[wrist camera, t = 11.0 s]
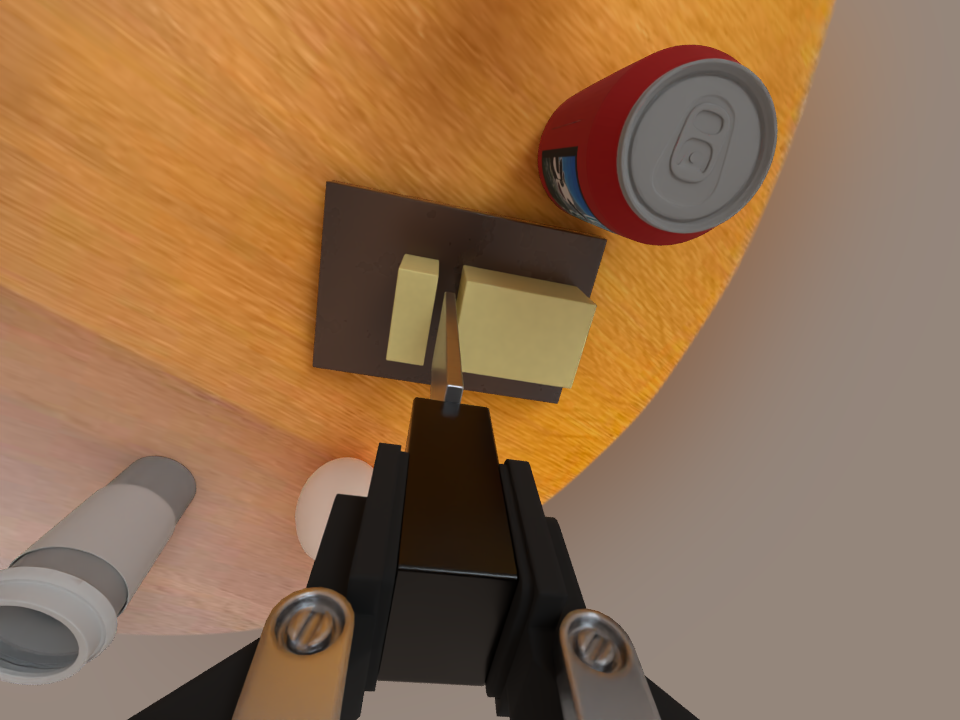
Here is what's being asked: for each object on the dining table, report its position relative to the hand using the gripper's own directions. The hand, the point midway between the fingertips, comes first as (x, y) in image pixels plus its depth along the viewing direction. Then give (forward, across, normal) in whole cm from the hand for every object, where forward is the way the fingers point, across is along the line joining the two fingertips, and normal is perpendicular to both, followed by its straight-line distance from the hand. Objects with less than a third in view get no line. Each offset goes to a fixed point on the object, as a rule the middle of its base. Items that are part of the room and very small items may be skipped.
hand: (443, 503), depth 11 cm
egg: (+19, +4, +14) cm, 24 cm away
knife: (+13, 0, 0) cm, 13 cm away
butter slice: (+18, +2, 0) cm, 18 cm away
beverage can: (+19, -7, -10) cm, 23 cm away
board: (+19, -1, 0) cm, 19 cm away
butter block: (+18, -4, 0) cm, 18 cm away
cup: (+19, +17, +17) cm, 31 cm away
